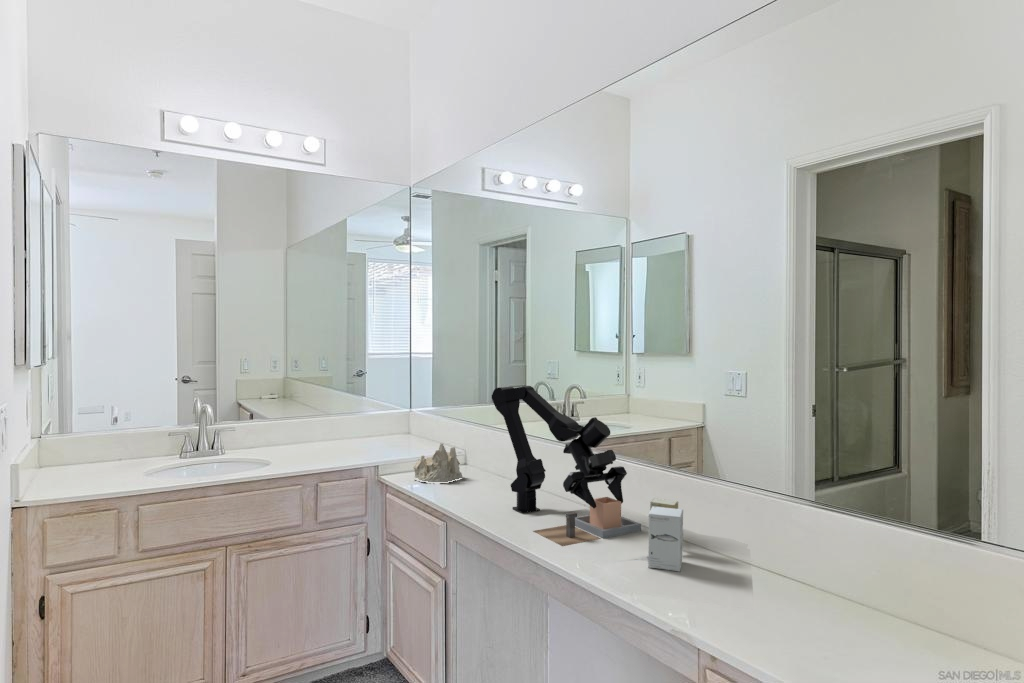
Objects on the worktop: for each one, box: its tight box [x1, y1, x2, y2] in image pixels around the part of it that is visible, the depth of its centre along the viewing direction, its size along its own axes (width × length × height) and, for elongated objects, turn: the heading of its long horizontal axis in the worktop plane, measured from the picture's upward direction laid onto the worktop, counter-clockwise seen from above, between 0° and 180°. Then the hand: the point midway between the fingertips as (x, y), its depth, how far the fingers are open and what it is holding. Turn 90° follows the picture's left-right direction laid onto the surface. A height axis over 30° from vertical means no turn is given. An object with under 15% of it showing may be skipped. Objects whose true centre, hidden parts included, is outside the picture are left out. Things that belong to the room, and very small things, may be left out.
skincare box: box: [649, 497, 679, 511], centre depth 153 cm, size 6×4×12 cm
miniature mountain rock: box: [413, 443, 463, 482], centre depth 232 cm, size 16×16×15 cm
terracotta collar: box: [589, 496, 622, 530], centre depth 168 cm, size 8×6×8 cm
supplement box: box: [647, 506, 684, 573], centre depth 143 cm, size 7×7×13 cm
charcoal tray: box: [575, 514, 642, 539], centre depth 167 cm, size 14×13×3 cm
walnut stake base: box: [532, 511, 602, 547], centre depth 161 cm, size 14×12×8 cm
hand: (608, 505), depth 166 cm, fingers open, 9 cm apart
